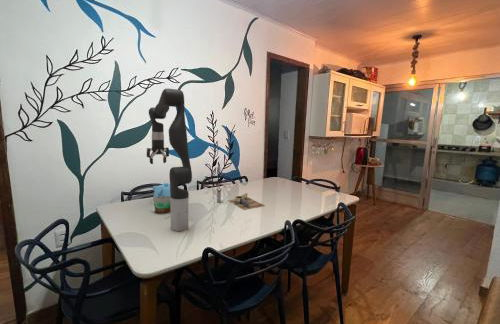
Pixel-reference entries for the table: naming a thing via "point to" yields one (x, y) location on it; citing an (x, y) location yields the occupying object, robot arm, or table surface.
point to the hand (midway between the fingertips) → (158, 163)
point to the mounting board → (252, 205)
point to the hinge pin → (219, 195)
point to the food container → (162, 204)
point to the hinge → (242, 200)
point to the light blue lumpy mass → (162, 190)
